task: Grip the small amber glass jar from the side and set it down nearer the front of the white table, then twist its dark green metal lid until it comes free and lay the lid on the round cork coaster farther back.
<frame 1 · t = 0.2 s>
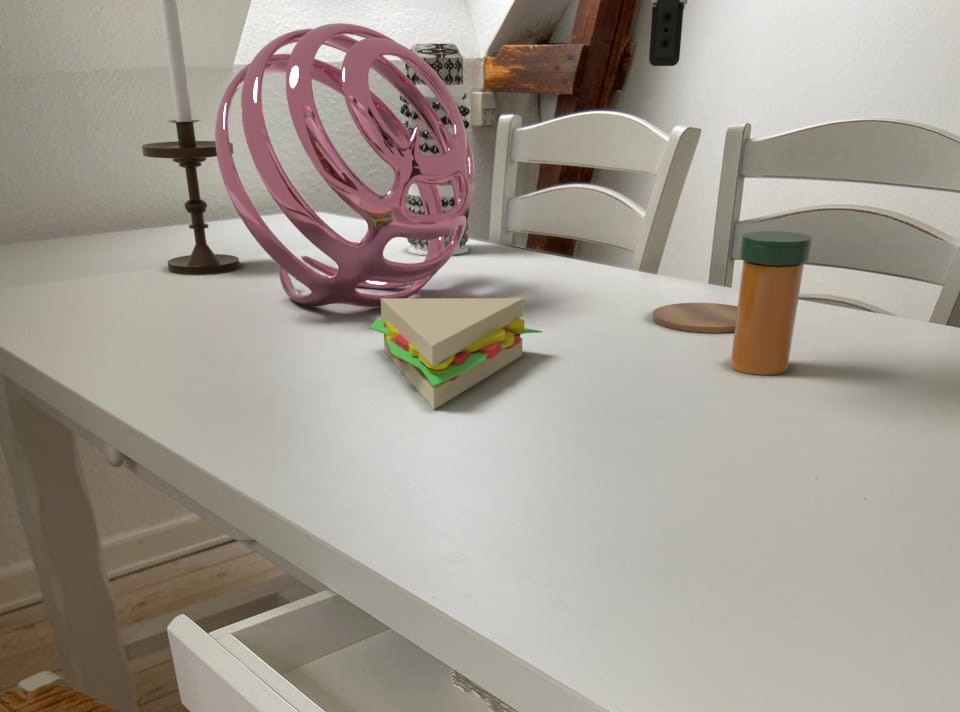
hand: (664, 65, 77), 23 cm above the table, tool pointing down, fingers open, 8 cm apart
decorative candle: (437, 251, 141), on the table
coaster: (705, 320, 105), on the table
jar: (758, 367, 90), on the table
sandwich: (434, 376, 88), on the table
spiral basket: (361, 303, 113), on the table
lid: (776, 241, 84), point 11 cm above the table, screwed on, not yet turned
candlestick: (204, 269, 131), on the table
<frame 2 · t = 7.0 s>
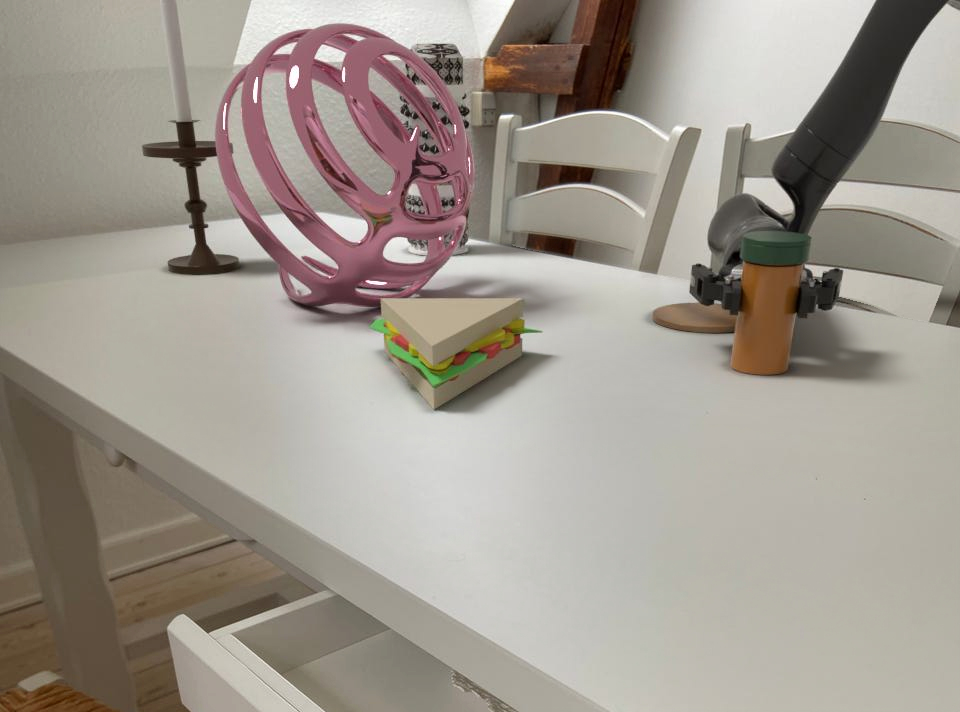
hand: (770, 304, 84), 6 cm above the table, tool horizontal, fingers closed on jar, 5 cm apart
jar: (758, 367, 90), on the table, touching gripper
everything else where it was.
when the fingers open (6 cm above the table, at t = 14.0 s): jar stays where it is, on the table.
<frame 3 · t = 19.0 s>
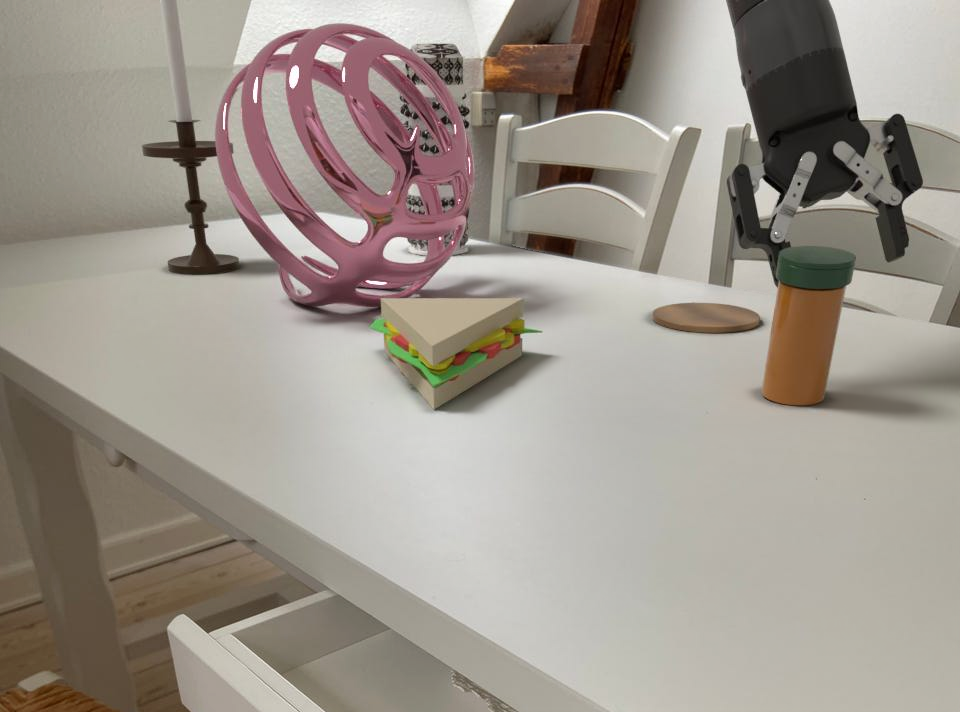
hand: (844, 275, 80), 9 cm above the table, tool tilted 30°, fingers open, 8 cm apart
jar: (792, 394, 82), on the table
lid: (816, 260, 76), point 11 cm above the table, screwed on, not yet turned
everything else where it was.
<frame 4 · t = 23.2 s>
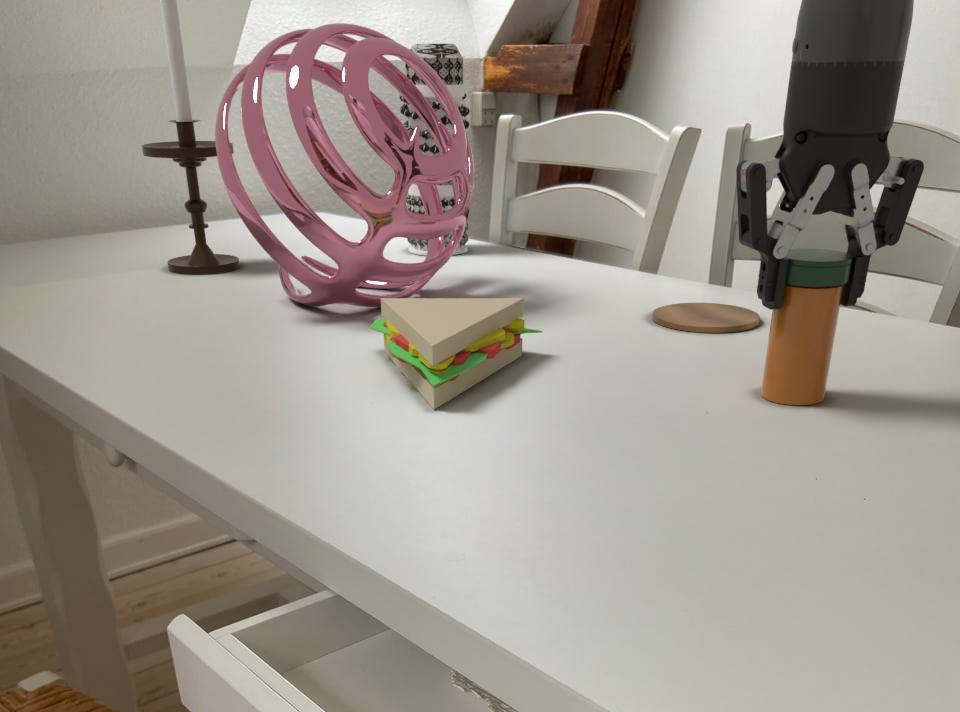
hand: (808, 304, 78), 7 cm above the table, tool pointing down, fingers closed on lid, 5 cm apart
lid: (813, 260, 77), point 11 cm above the table, screwed on, not yet turned, touching gripper
everything else where it was.
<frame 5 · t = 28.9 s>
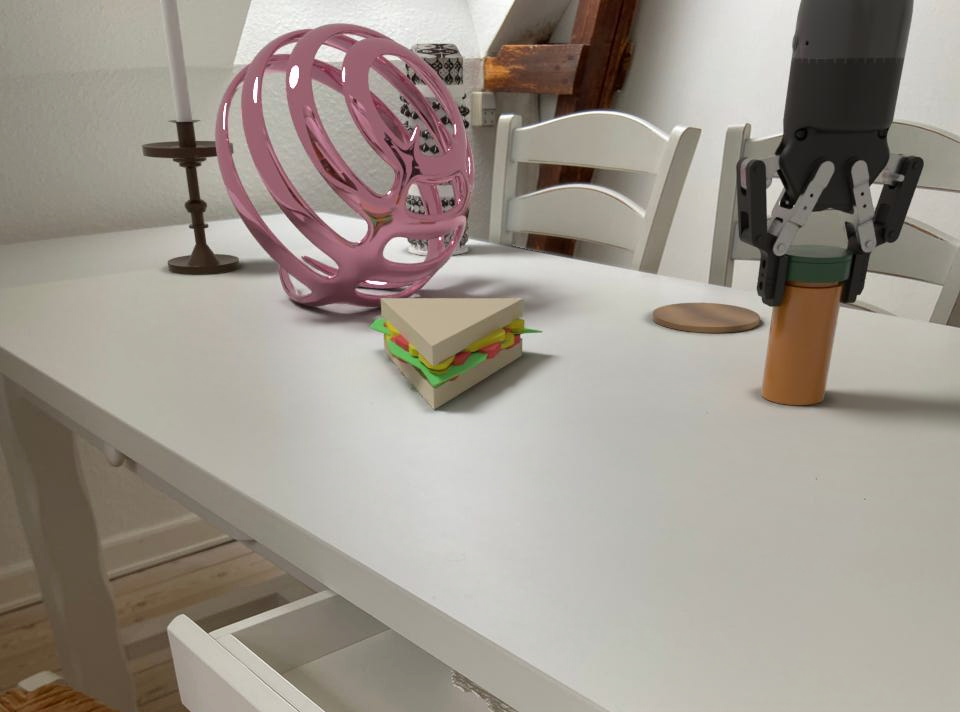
hand: (808, 302, 78), 8 cm above the table, tool pointing down, fingers closed on lid, 5 cm apart
lid: (813, 256, 77), point 11 cm above the table, turned 90° so far, risen 0.3 cm, still on its thread, touching gripper
everything else where it was.
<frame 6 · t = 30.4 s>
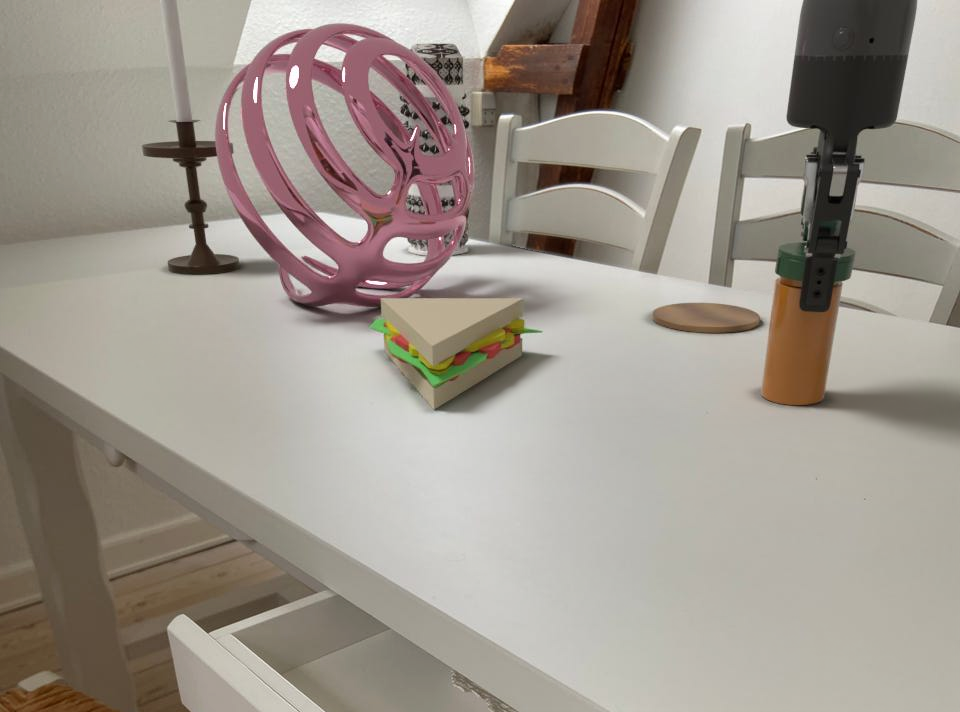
hand: (811, 300, 78), 8 cm above the table, tool pointing down, fingers closed on lid, 5 cm apart
jar: (792, 395, 82), on the table, touching gripper, lid
lid: (815, 255, 76), point 11 cm above the table, off its thread, touching gripper, jar
everything else where it was.
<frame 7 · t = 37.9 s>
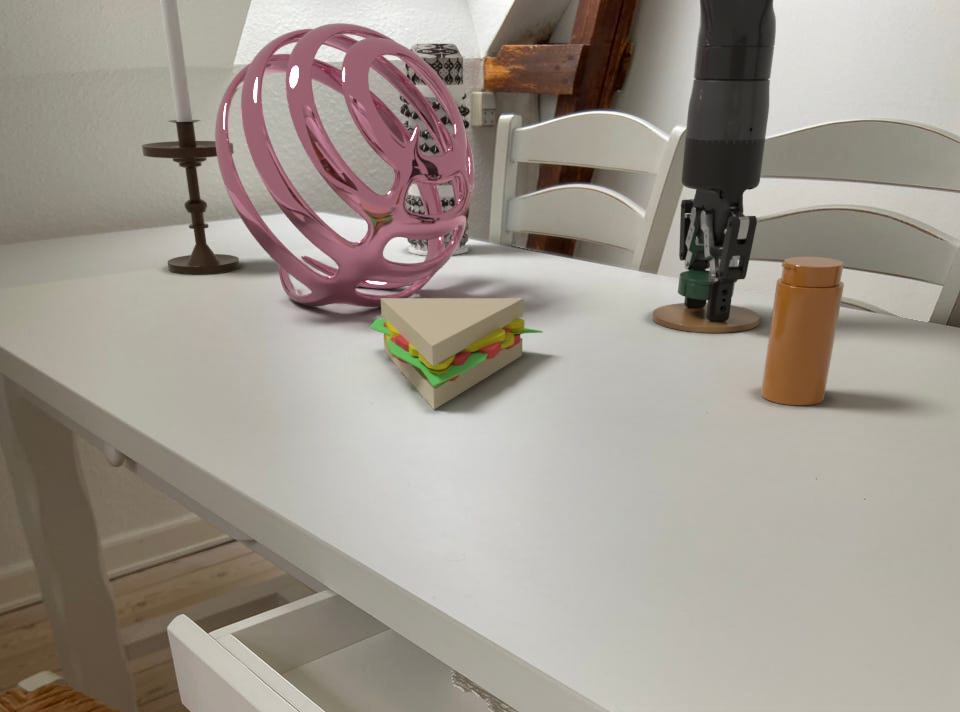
hand: (705, 313, 105), 1 cm above the table, tool pointing down, fingers closed on lid, 5 cm apart
jar: (792, 396, 82), on the table
lid: (706, 280, 103), point 4 cm above the table, off its thread, touching gripper
everything else where it was.
when the fingers open (2 cm above the table, at t = 47.5 s): lid drops 3 cm, resting on coaster.
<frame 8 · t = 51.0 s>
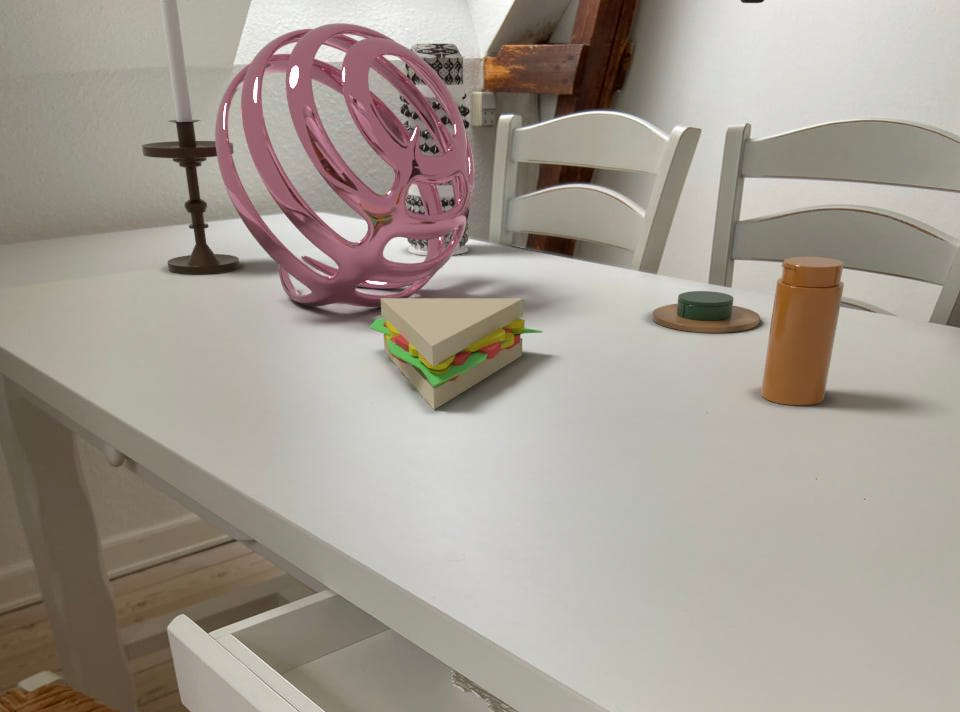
hand: (772, 1, 88), 28 cm above the table, tool pointing down, fingers open, 8 cm apart
lid: (705, 300, 104), point 2 cm above the table, off its thread, touching coaster
everything else where it was.
at the end: lid inside the target area on the coaster (0.3 cm from its centre), point 2.0 cm above the coaster's base; the gripper is holding nothing; jar inside the target area (0.3 cm from its centre), on the table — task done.
